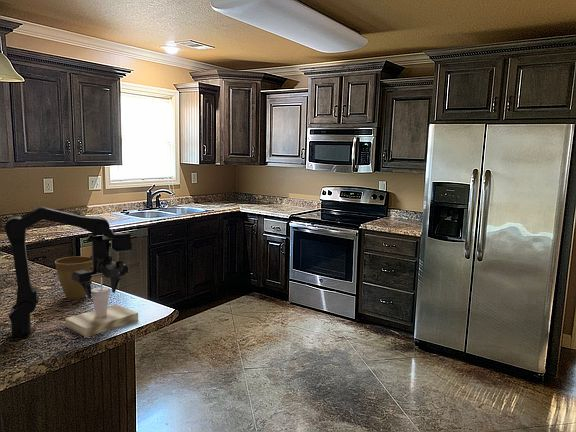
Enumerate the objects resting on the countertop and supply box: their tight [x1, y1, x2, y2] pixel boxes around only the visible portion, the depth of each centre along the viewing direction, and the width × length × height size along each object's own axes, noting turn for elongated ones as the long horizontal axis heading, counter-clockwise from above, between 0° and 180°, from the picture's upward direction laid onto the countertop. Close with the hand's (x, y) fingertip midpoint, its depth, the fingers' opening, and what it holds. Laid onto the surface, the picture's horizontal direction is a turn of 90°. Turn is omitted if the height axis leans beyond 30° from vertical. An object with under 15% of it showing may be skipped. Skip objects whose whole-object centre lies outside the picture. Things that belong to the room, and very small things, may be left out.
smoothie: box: [91, 277, 111, 317], centre depth 159 cm, size 6×6×14 cm
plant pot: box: [54, 255, 93, 300], centre depth 188 cm, size 15×15×16 cm
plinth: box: [64, 303, 139, 338], centre depth 160 cm, size 20×14×3 cm
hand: (101, 295), depth 159 cm, fingers open, 9 cm apart
